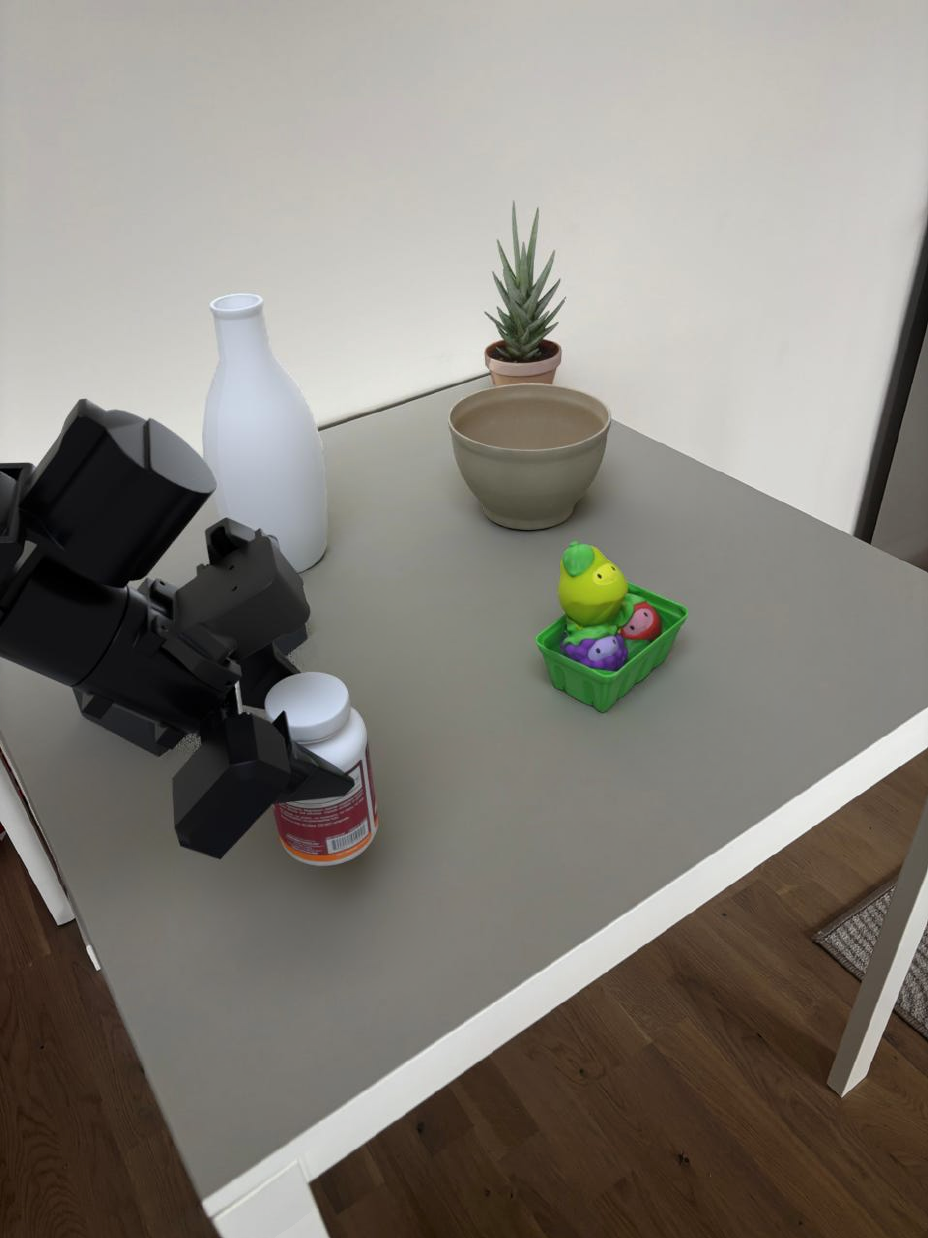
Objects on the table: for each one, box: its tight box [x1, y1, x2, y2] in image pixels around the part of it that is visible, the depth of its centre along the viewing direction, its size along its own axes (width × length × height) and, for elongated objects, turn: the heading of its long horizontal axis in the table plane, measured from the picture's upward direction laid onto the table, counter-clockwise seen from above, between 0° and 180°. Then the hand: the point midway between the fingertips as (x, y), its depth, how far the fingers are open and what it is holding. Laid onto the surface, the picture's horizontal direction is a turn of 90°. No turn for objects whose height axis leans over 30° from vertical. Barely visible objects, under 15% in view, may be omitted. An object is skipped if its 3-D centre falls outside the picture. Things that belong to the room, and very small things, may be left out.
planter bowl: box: [447, 383, 612, 531], centre depth 99 cm, size 16×16×11 cm
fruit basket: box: [534, 540, 690, 713], centre depth 77 cm, size 11×9×11 cm
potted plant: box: [483, 199, 567, 387], centre depth 117 cm, size 10×10×25 cm
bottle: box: [201, 292, 329, 574], centre depth 90 cm, size 11×11×25 cm
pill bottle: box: [264, 671, 379, 867], centre depth 57 cm, size 6×6×11 cm
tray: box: [71, 623, 308, 757], centre depth 81 cm, size 17×9×4 cm, turn 146°
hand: (340, 749), depth 57 cm, fingers closed on pill bottle, 6 cm apart
